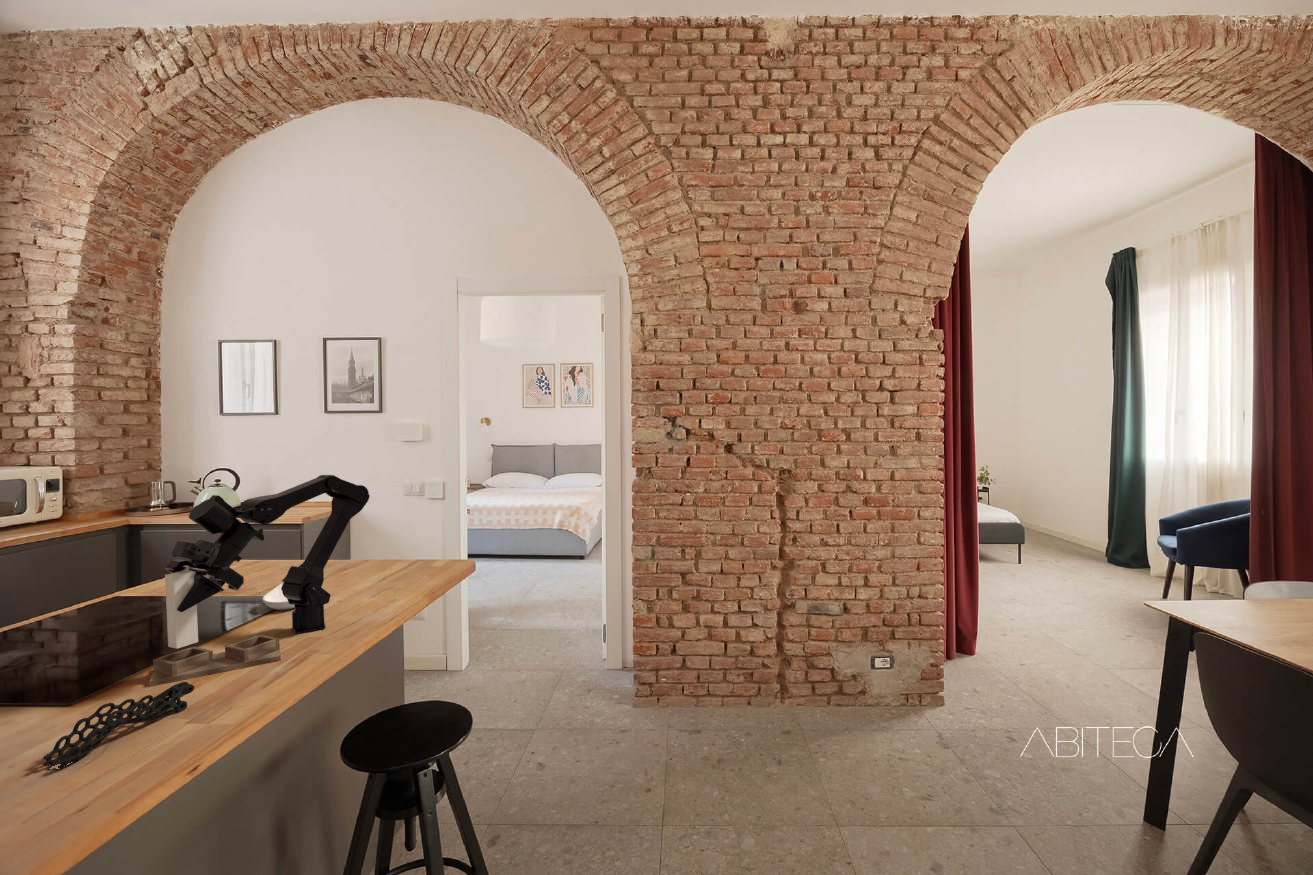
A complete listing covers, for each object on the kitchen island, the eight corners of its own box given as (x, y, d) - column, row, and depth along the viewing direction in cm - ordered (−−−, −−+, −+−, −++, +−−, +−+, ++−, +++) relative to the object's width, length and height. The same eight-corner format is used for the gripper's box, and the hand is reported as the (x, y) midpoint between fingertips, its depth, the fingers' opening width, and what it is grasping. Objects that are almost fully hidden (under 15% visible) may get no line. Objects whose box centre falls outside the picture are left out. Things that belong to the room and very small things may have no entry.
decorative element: (66, 774, 90) (64, 735, 89) (37, 771, 90) (36, 732, 90) (201, 704, 112) (200, 672, 112) (177, 702, 112) (176, 671, 112)
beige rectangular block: (189, 639, 128) (186, 570, 128) (198, 641, 127) (195, 571, 126) (168, 646, 125) (165, 574, 124) (176, 648, 123) (173, 576, 123)
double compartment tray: (278, 646, 140) (278, 631, 139) (280, 660, 131) (280, 644, 131) (156, 669, 127) (155, 652, 127) (149, 686, 119) (149, 668, 119)
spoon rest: (304, 612, 166) (303, 586, 166) (255, 616, 163) (255, 589, 163) (327, 589, 189) (327, 566, 188) (285, 592, 186) (284, 569, 185)
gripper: (173, 522, 132) (114, 585, 123) (226, 527, 125) (168, 595, 115) (213, 550, 140) (160, 612, 130) (266, 557, 132) (214, 622, 123)
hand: (174, 610), depth 124 cm, fingers closed on beige rectangular block, 3 cm apart
